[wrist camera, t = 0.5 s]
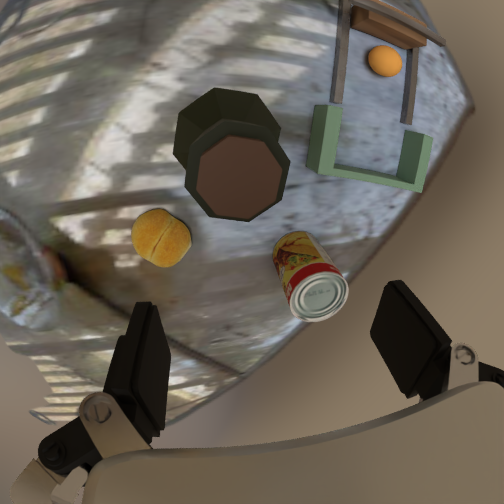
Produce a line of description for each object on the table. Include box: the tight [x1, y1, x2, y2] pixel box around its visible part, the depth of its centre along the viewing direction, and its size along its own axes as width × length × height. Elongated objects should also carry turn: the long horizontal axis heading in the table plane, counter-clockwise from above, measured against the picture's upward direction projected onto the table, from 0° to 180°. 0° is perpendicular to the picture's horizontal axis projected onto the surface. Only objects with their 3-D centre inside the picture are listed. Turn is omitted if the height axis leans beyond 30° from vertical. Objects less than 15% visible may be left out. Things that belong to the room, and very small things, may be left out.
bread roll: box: [131, 209, 192, 267], centre depth 38 cm, size 8×9×4 cm
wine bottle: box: [173, 88, 290, 222], centre depth 21 cm, size 8×8×30 cm
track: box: [330, 0, 419, 125], centre depth 29 cm, size 20×14×2 cm
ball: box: [369, 45, 402, 77], centre depth 28 cm, size 5×5×5 cm
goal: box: [306, 105, 433, 193], centre depth 35 cm, size 9×18×5 cm, turn 84°
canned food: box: [273, 231, 349, 322], centre depth 39 cm, size 8×8×12 cm
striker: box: [348, 0, 446, 49], centre depth 24 cm, size 4×16×7 cm, turn 84°
